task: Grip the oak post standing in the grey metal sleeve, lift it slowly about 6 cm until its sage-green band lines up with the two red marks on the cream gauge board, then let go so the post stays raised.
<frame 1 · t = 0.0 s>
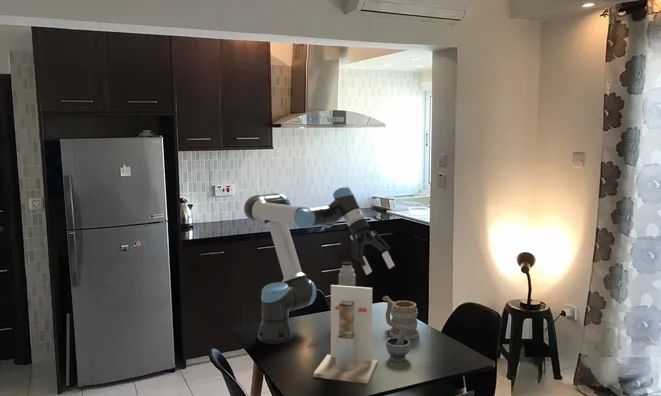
hand: (380, 270, 210), 36 cm above the table, tool tilted 35°, fingers open, 13 cm apart
birch base plate: (346, 370, 204), on the table
metal sleeve: (346, 350, 203), on the birch base plate, point 8 cm above the table
mortar and pestle: (398, 358, 216), on the table
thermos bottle: (346, 320, 262), on the table
gauge board: (351, 323, 209), on the birch base plate, point 16 cm above the table
oak post: (346, 334, 203), point 14 cm above the table, slide at 0.0 cm
tankard: (398, 332, 245), on the table
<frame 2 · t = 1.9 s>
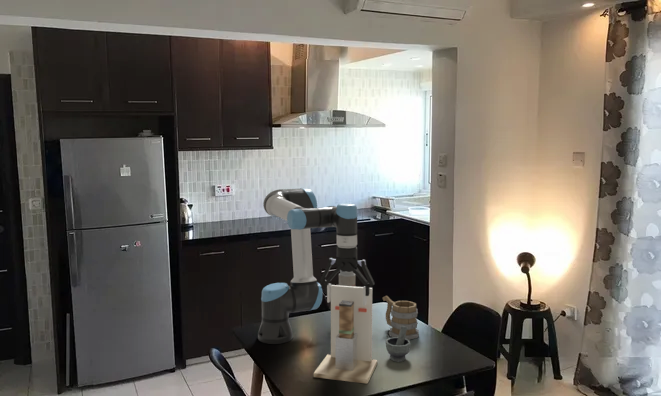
hand: (346, 303, 201), 26 cm above the table, tool pointing down, fingers open, 13 cm apart
nothing on the table moved.
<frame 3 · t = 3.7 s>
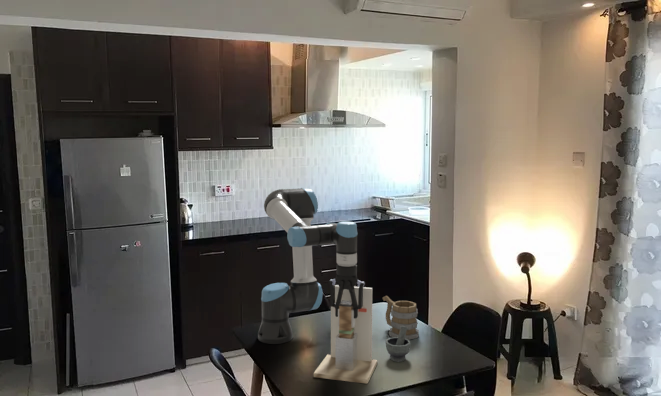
hand: (346, 325, 202), 17 cm above the table, tool pointing down, fingers closed on oak post, 4 cm apart
oak post: (346, 334, 203), point 14 cm above the table, slide at 0.0 cm, touching gripper
everything else where it was.
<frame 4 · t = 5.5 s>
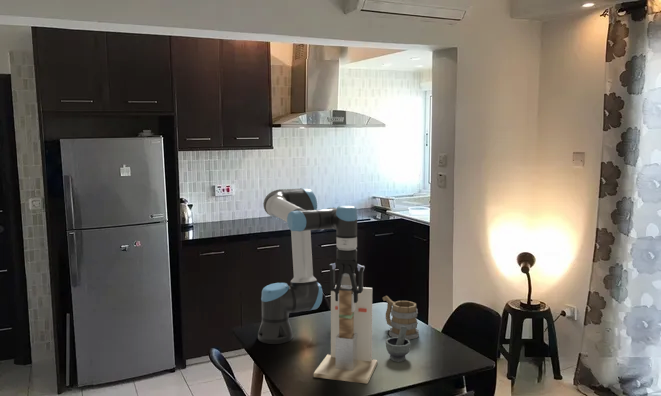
hand: (346, 310, 202), 23 cm above the table, tool pointing down, fingers closed on oak post, 4 cm apart
oak post: (346, 318, 202), point 20 cm above the table, slide at 5.9 cm, touching gripper
everything else where it was.
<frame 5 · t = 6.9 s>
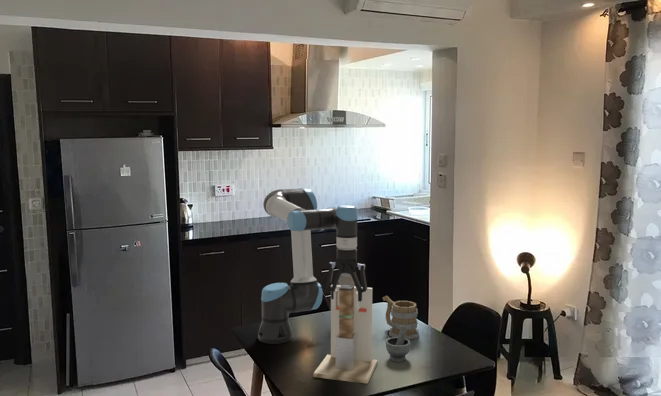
hand: (346, 308, 202), 24 cm above the table, tool pointing down, fingers open, 8 cm apart
oak post: (346, 318, 202), point 20 cm above the table, slide at 6.0 cm
everything else where it was.
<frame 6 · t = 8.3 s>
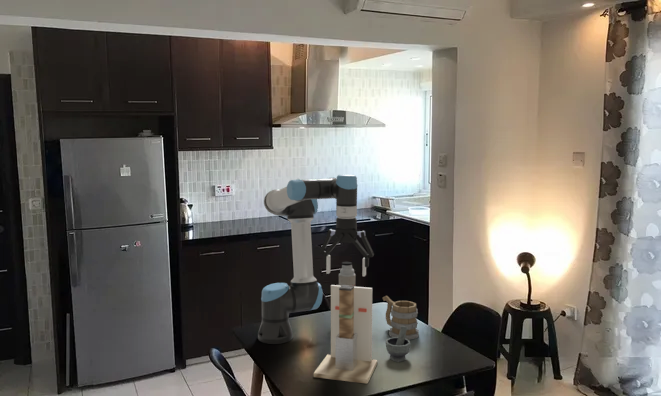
hand: (346, 274, 201), 37 cm above the table, tool pointing down, fingers open, 13 cm apart
nothing on the table moved.
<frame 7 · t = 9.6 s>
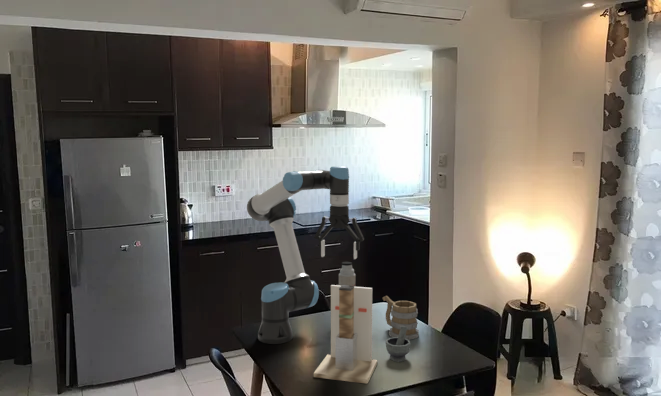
hand: (339, 257, 220), 39 cm above the table, tool pointing down, fingers open, 13 cm apart
nothing on the table moved.
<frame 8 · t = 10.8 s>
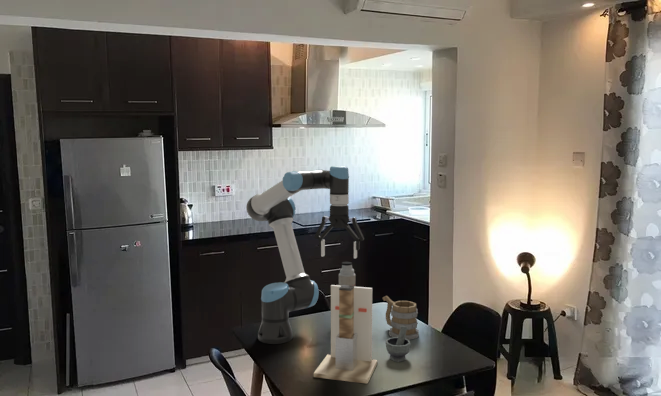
hand: (339, 257, 220), 39 cm above the table, tool pointing down, fingers open, 13 cm apart
nothing on the table moved.
at the end: oak post slide at 6.0 cm; the gripper is holding nothing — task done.
